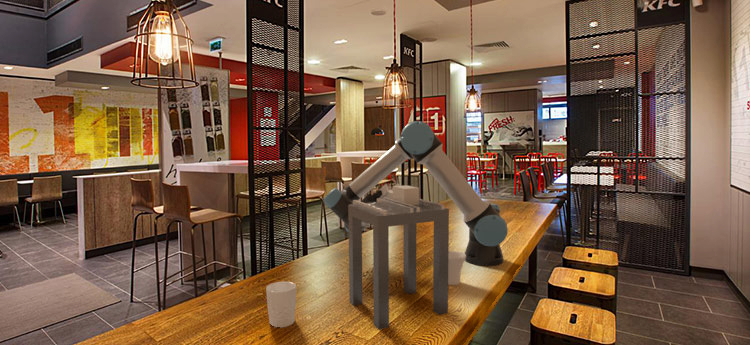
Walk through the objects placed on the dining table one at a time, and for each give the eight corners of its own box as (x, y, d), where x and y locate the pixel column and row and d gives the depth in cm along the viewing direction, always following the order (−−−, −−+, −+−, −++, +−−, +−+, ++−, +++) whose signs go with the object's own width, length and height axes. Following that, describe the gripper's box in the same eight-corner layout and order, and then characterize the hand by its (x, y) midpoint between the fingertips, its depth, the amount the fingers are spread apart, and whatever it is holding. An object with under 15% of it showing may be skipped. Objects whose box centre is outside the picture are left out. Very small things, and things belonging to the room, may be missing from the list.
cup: (451, 289, 133) (451, 259, 132) (434, 280, 141) (434, 252, 141) (472, 284, 137) (472, 255, 136) (454, 276, 146) (455, 248, 145)
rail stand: (349, 301, 124) (348, 200, 121) (411, 289, 133) (411, 195, 130) (378, 329, 106) (378, 211, 103) (447, 313, 115) (448, 204, 112)
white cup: (289, 330, 106) (288, 293, 105) (261, 327, 107) (260, 291, 106) (301, 317, 113) (300, 282, 113) (275, 314, 115) (274, 280, 114)
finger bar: (375, 197, 135) (375, 182, 134) (388, 196, 137) (388, 181, 137) (404, 205, 118) (404, 188, 117) (418, 204, 120) (418, 187, 120)
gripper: (389, 220, 150) (418, 196, 131) (347, 225, 143) (372, 200, 124) (384, 201, 153) (412, 175, 134) (343, 205, 146) (366, 178, 126)
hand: (393, 187), depth 129 cm, fingers open, 4 cm apart
